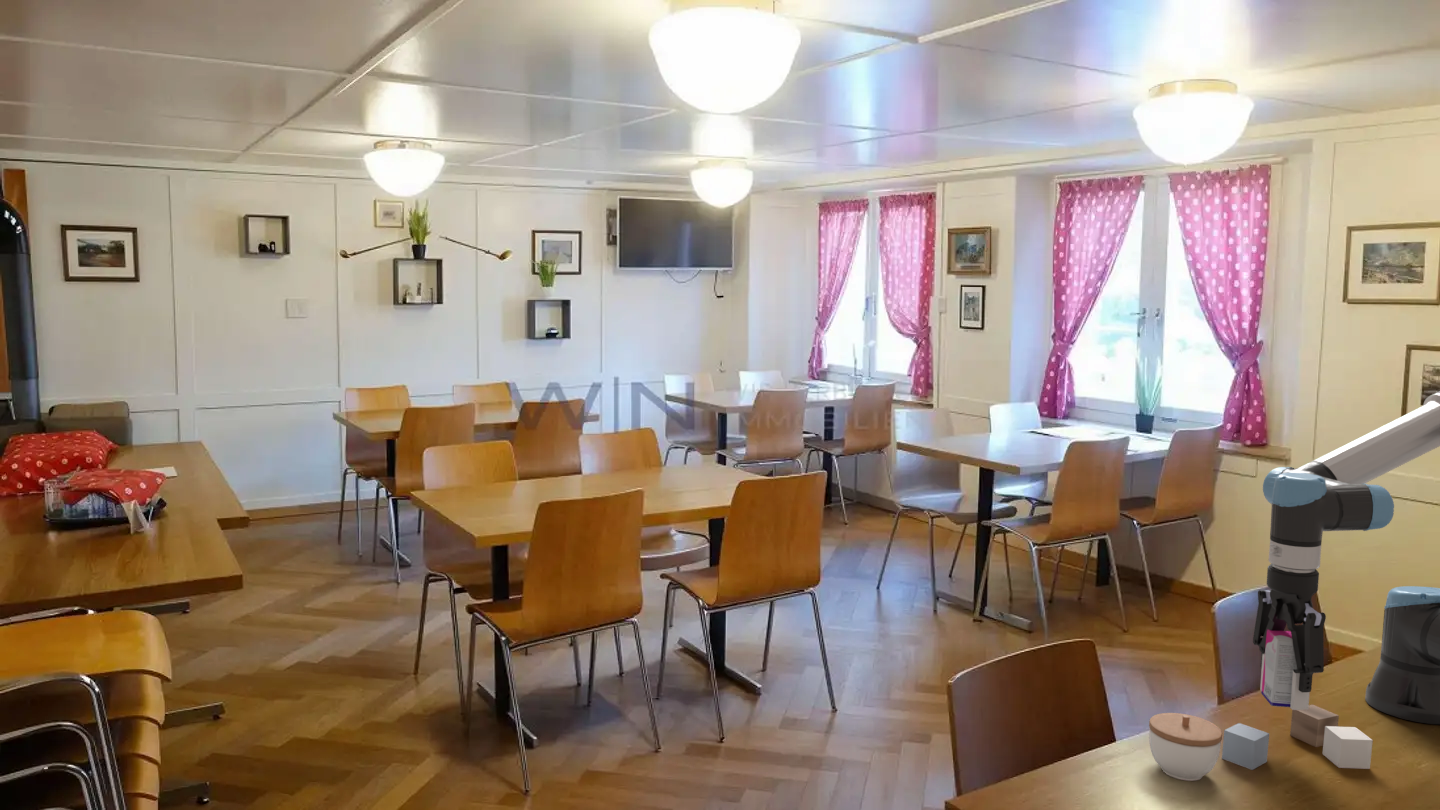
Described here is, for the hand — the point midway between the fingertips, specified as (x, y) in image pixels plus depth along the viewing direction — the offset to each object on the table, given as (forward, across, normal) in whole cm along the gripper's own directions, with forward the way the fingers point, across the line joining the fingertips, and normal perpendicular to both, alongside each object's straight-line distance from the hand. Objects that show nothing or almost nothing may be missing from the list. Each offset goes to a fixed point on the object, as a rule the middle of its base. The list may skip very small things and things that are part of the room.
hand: (1283, 699), depth 178 cm
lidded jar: (+9, +6, -22) cm, 24 cm away
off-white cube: (+9, +5, +8) cm, 13 cm away
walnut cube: (+9, -4, +9) cm, 13 cm away
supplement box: (0, 0, 0) cm, 0 cm away
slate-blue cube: (+9, +3, -9) cm, 13 cm away
